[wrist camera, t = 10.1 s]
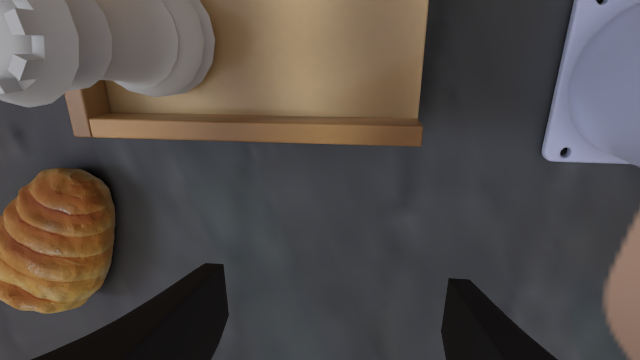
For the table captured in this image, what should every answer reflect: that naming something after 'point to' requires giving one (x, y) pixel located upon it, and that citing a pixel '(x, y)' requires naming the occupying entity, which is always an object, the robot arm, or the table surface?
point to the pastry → (56, 241)
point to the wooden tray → (284, 79)
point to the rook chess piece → (101, 47)
